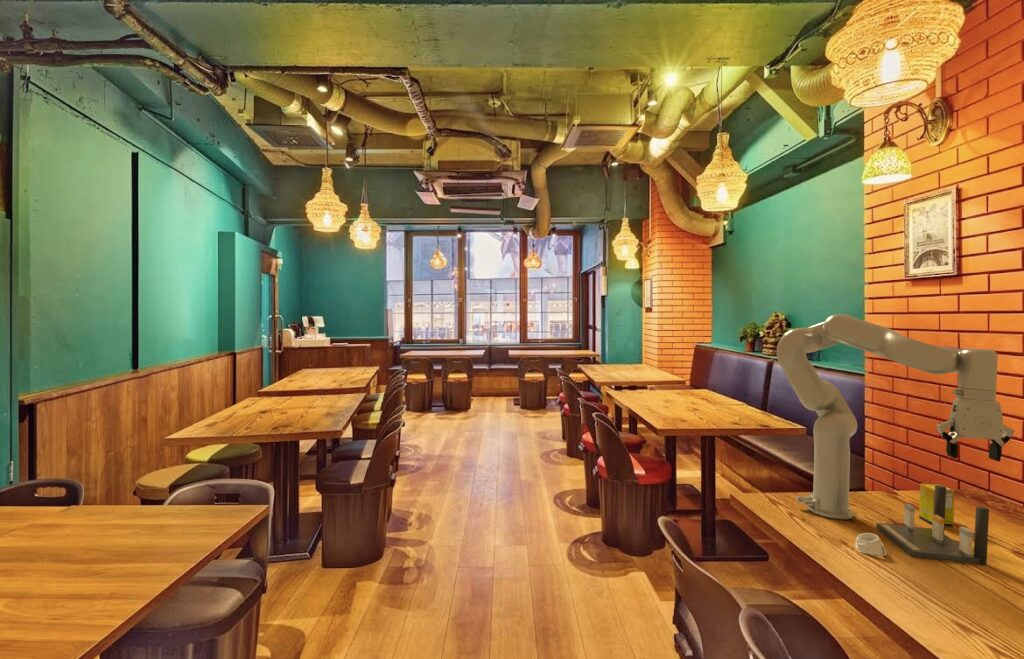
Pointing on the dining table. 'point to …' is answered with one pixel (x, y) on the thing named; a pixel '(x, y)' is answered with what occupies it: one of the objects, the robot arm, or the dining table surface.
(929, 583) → the dining table surface
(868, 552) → the grey hollow teardrop piece
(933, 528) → the cream block orange end
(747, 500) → the dining table surface
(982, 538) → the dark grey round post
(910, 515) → the beige flat bar
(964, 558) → the panel
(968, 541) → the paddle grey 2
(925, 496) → the supplement box
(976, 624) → the dining table surface
